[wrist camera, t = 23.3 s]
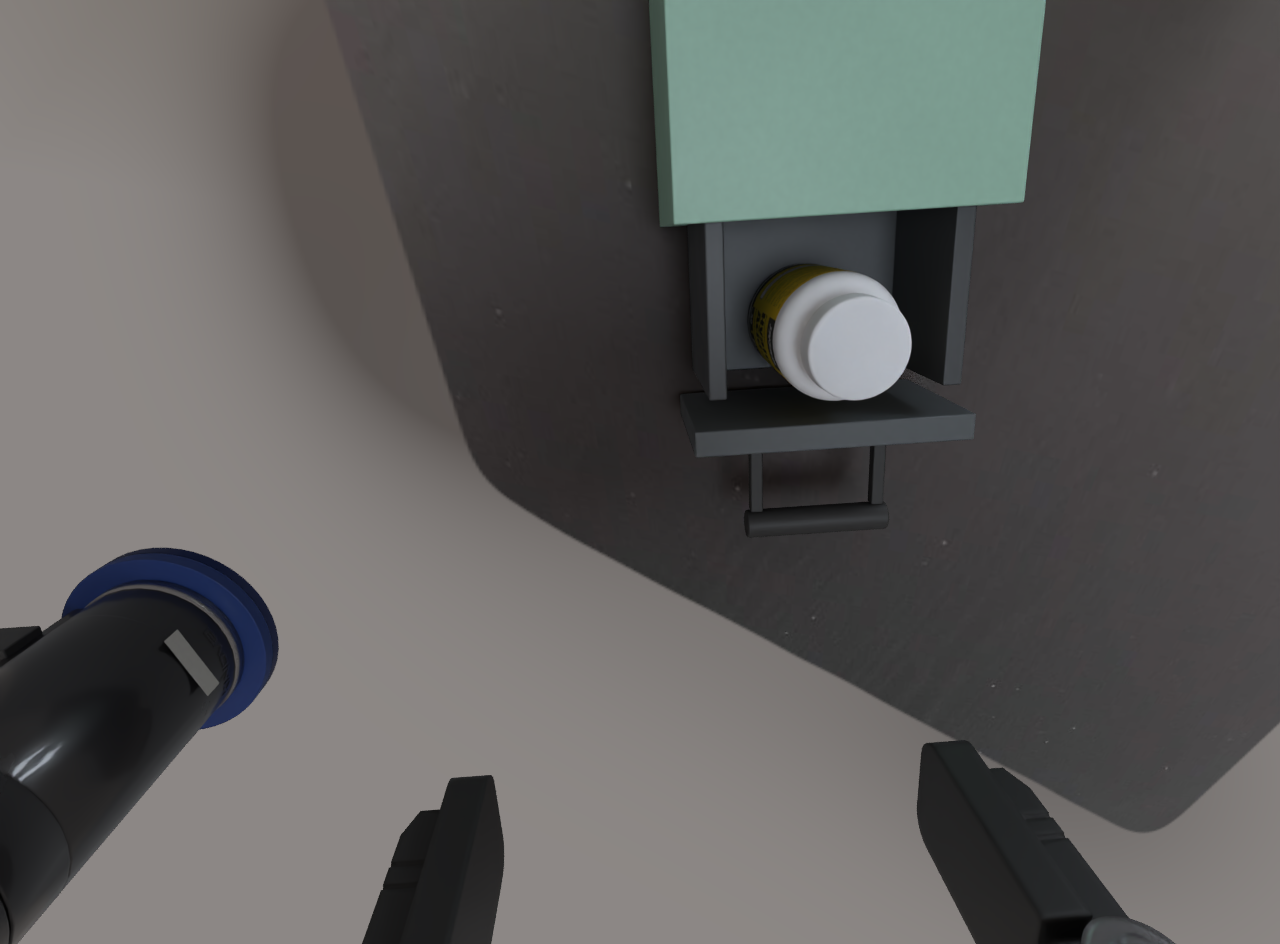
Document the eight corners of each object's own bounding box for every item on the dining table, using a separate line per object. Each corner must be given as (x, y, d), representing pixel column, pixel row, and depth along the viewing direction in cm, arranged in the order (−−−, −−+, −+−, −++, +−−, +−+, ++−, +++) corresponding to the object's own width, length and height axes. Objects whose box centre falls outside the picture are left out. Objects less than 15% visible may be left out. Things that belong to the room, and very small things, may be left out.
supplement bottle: (726, 301, 35) (764, 326, 26) (820, 241, 34) (895, 244, 25) (777, 390, 37) (831, 443, 28) (869, 334, 36) (956, 369, 27)
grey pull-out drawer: (900, 490, 40) (963, 548, 33) (684, 504, 40) (699, 566, 33) (924, 106, 34) (1010, 70, 26) (668, 122, 34) (682, 91, 26)
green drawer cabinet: (922, 210, 36) (1024, 202, 27) (659, 227, 36) (673, 224, 27) (947, -165, 31) (1083, -330, 22) (641, -146, 31) (650, -304, 22)
